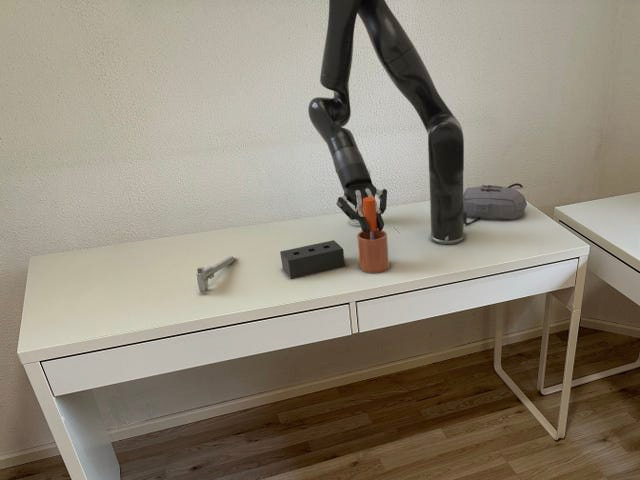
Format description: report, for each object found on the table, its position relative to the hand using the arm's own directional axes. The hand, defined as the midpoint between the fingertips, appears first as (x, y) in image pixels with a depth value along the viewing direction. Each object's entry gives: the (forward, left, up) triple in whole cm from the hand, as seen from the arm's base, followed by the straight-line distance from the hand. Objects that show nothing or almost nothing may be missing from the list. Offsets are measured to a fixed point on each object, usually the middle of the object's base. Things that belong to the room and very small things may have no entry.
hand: (374, 230), depth 168 cm
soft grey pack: (-50, +12, -11) cm, 53 cm away
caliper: (+20, -35, -11) cm, 41 cm away
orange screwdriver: (-1, -2, -7) cm, 8 cm away
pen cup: (-1, -2, -11) cm, 11 cm away
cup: (-26, -22, -11) cm, 36 cm away
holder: (+6, -16, -11) cm, 20 cm away
